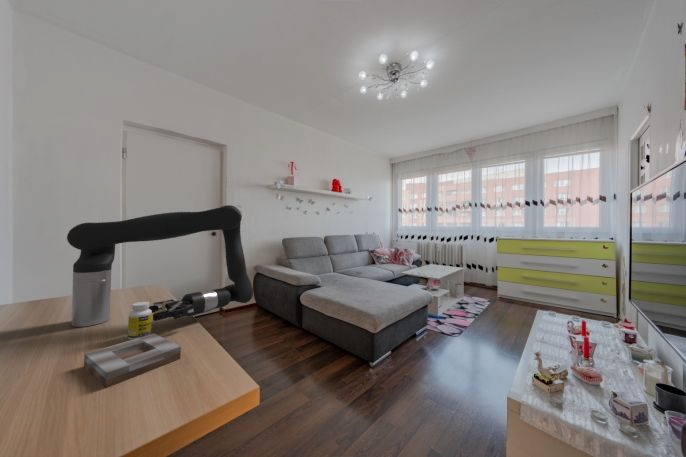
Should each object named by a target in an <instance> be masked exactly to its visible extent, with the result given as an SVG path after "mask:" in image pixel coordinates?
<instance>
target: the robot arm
mask: <svg viewBox="0 0 686 457" xmlns="http://www.w3.org/2000/svg"><path fill="white" fill-rule="evenodd" d="M242 218H243V217H242V212H241V211H240V209H239V208H238V207H237V206H234V205H231V204H228V205H222V206H219V207H216V208H212V209H207V210H203V211H202V210H201V211H175V212H173V211H171V212H166V213H165V212H163V213H156V214H150V215H145V216H139V217H134V218H131V219H123V220H120V221H119V220H118V221H107V222H103V221H101V222H82V223H78V224H77V225H75V226H73V227H72V228H71V229H70V230H69V231H68V233H67V235H66V240H67V243H68V244H69V245H70V247H71V246H72V247H73V248H75V249H77V250H80V254H79V257H78V258H77V260H76V261H75V262H74V263H73V266H72V294H71V296H72V298H71V300H72V301H71V302H72V303H71V326H72V327H75V328H77V327H78V328H79V327H89V326H90V327H91V326H95V325H99V324H102V323H106V322H108V321H109V320H111V306H112V305H111V304H112V303H111V301H112V300H111V298H112V297H111V296H112V294H111V292H112V267H113V266H112V265H113V262H114V260H115V254H116V245H118V244H123V243H135V242H138V243H139V242H153V241H159V240H160V241H163V240H168V239H169V240H170V239H175V238H181V237H186V236H188V235H189V236H190V235H192V234H193V235H194V234H197V233H202V232H208V231H222V235H223V239H224V249H225V264H226V270H227V276H228V279H229V280H230V281H231V282H233V284H228V285H226V286H224V287H220V288H216V289H210V290H201V291H195V292H191V293H187V294H184V295H183V296H182V298H181V300H175V299H173V298H171V299H169V300H167V299H166V300H164V301H163V300H162V301H157V302H154V303H153V305H149V308H148V309H150V310H151V311H152V321H153V322H158V321H161V320H165V319H173V320H178V319H181V318H185V317H193V316H196V315H201V314H203V313H206V312H210V311H212V310H216V309H218V308H219V309H220V308H223V307H226V306H228V305H229V304H230V303H231V302H237V303H240V304H246V303H249V302H250V301H251V300H252V298H253V296H254V288H253V285H252V282H251V280H250V277H249V275H248V272H247V264H246V259H245V254H244V249H243V243H242V234H241V222H242ZM191 315H192V316H191Z"/></svg>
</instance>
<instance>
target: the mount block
mask: <svg viewBox="0 0 686 457" xmlns="http://www.w3.org/2000/svg"><path fill="white" fill-rule="evenodd" d="M181 350H182V349H181V346H180V345H178V344H177V343H174V342H173V341H172V340H171V341H170V340H168V339H166V338H164V337H163V336H160V335H158V334H156V333H151V335H147V336H144V337H140V338H137V339H133V340H130V339H129V340H127V341H123V342H120V343H116V344H114V345H110V346H107V347H102V348H100V349H96V350H93V351H90V352H85V353H84V359H83V367H84V368H85V369H86V371H88V372H89V373H90V374H91V375H92V376H93V377H94V378H95V379H96V380H97V381H99V382H100V383H101V384H102V385H103V386H104V387H105V388H109V387H111V386H112V387H113V386H115V385H117V384H120V383H122V382H125V381H127V380H130V379H132V378H134V377H137V376H140V375H142V374H146V373H148V372H149V371H152V370H155V369H158V368H161V367H163V366H165V365H167V364H170V363H173V362H175V361H179V360H180V359H181V355H182V354H181V353H182V352H181Z"/></svg>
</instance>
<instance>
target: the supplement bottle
mask: <svg viewBox="0 0 686 457" xmlns="http://www.w3.org/2000/svg"><path fill="white" fill-rule="evenodd" d="M131 305H132V306H131V311H130V312H129V313H128V323H127V324H128V325H127V329H128V330H127V340H129V341H130V340H133V339H137V338H140V337H144V336H147V335H151V334H152V321H153V313H152V311H151V310H150V309H148V308H149V306H150V302H149V301H138V302H134V303H133V304H131Z"/></svg>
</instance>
